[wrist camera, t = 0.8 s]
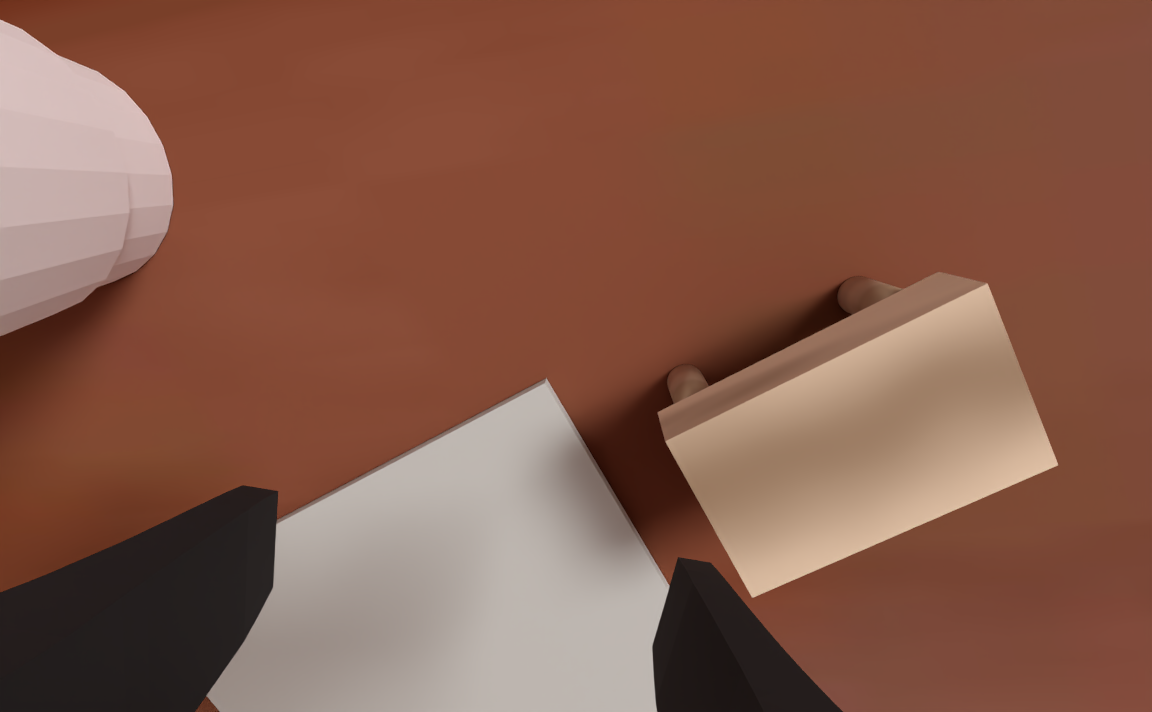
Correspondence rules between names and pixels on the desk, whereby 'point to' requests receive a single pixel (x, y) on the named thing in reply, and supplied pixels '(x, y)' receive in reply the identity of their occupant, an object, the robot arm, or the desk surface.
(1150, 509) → the desk surface
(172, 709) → the robot arm
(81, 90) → the cup
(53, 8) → the desk surface
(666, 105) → the desk surface
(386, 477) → the mat
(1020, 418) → the tan plank with pegs
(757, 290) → the desk surface
